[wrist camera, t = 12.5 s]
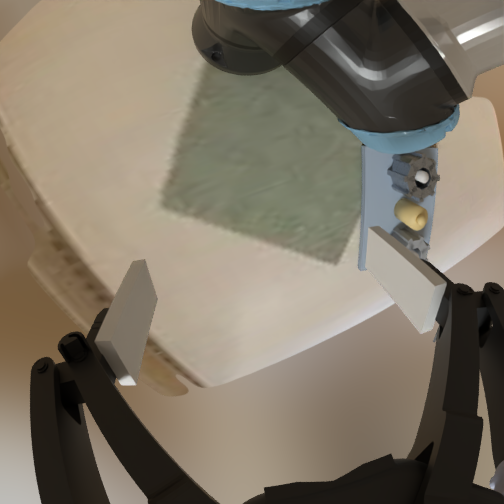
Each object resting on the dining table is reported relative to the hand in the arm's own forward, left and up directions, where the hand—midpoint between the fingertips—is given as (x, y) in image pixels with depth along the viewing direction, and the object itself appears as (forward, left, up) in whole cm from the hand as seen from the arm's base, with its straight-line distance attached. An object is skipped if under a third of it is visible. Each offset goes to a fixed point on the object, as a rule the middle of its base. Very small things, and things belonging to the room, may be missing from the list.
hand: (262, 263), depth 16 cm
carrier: (+8, +28, -27) cm, 40 cm away
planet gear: (+1, +28, -26) cm, 38 cm away
